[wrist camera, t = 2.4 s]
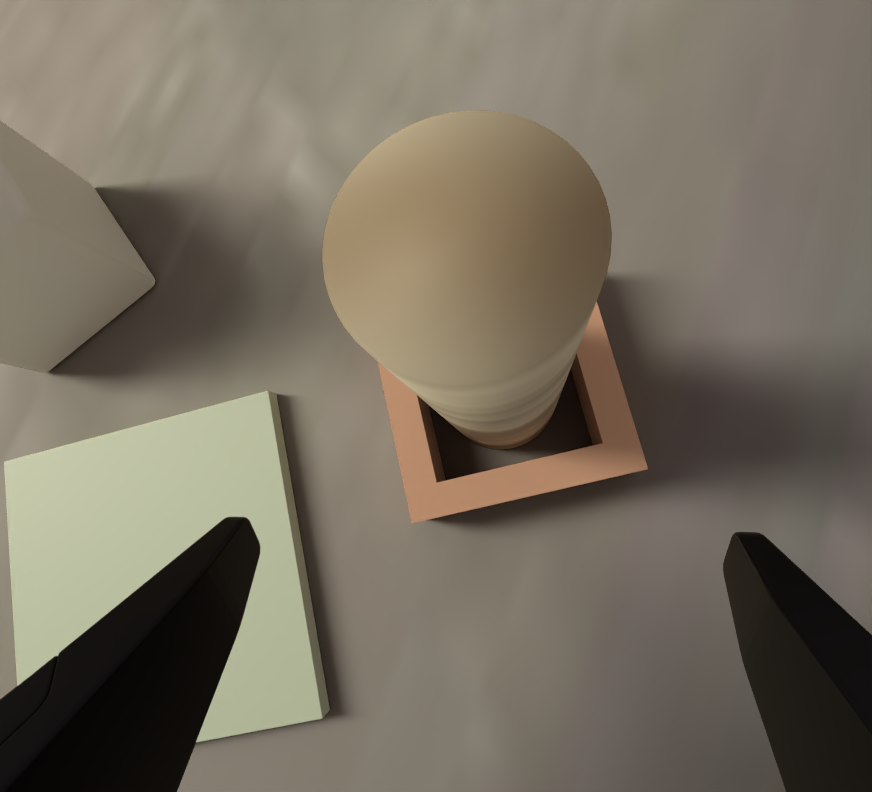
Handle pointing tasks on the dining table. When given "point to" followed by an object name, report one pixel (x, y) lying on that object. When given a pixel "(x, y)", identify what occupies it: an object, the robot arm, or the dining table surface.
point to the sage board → (169, 548)
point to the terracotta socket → (603, 460)
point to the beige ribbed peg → (471, 266)
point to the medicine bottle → (57, 258)
